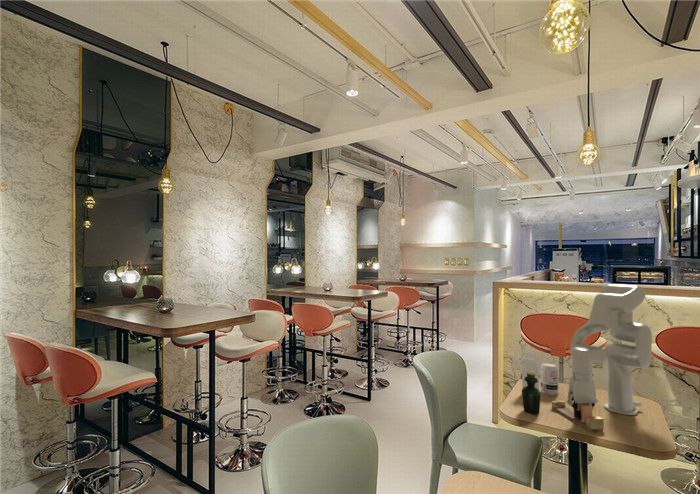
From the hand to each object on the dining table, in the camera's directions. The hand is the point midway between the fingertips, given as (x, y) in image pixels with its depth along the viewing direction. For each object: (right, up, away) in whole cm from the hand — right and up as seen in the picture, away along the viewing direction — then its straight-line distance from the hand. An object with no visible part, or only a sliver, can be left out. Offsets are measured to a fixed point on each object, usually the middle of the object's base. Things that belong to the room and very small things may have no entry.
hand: (582, 418), depth 155 cm
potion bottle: (-17, -3, +11) cm, 20 cm away
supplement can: (+6, -4, +36) cm, 36 cm away
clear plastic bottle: (-5, -4, +34) cm, 35 cm away
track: (0, -3, +4) cm, 5 cm away
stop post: (+1, -1, -6) cm, 7 cm away
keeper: (0, -1, 0) cm, 1 cm away
